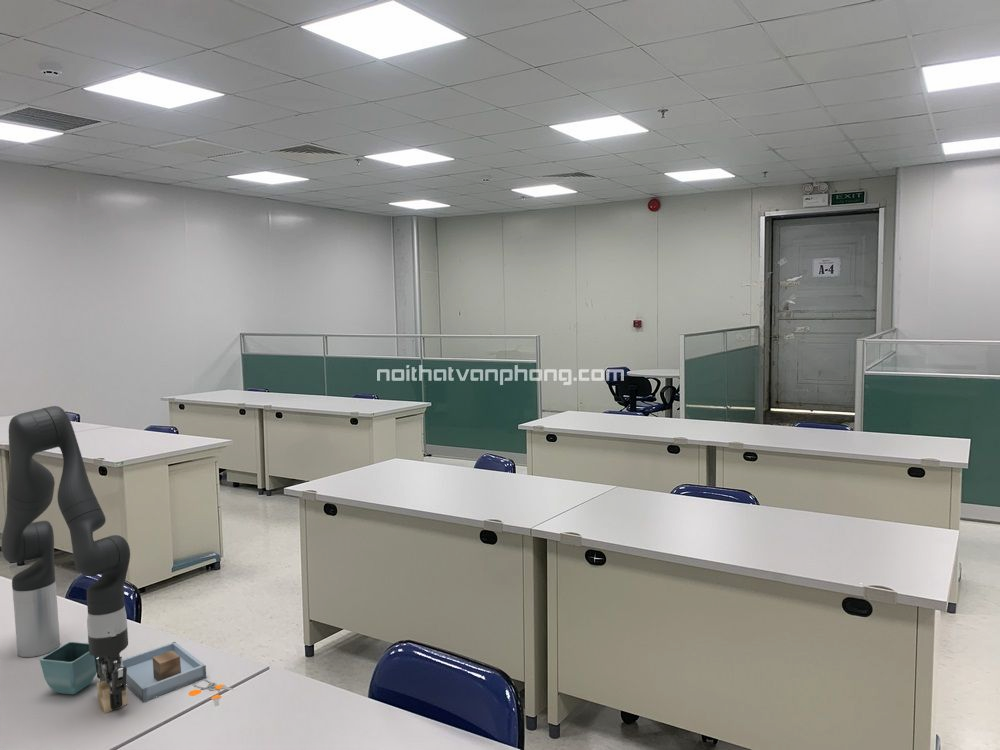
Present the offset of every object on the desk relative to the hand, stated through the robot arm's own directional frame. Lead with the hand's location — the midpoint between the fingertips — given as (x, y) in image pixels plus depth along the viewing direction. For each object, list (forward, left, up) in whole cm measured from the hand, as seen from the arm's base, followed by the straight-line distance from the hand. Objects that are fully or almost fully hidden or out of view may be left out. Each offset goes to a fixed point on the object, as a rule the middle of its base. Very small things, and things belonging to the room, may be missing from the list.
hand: (112, 703), depth 153 cm
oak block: (0, 0, 0) cm, 0 cm away
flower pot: (-14, -4, -1) cm, 15 cm away
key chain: (+11, +17, -1) cm, 20 cm away
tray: (-5, +12, 0) cm, 13 cm away
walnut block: (-1, +12, +1) cm, 12 cm away
